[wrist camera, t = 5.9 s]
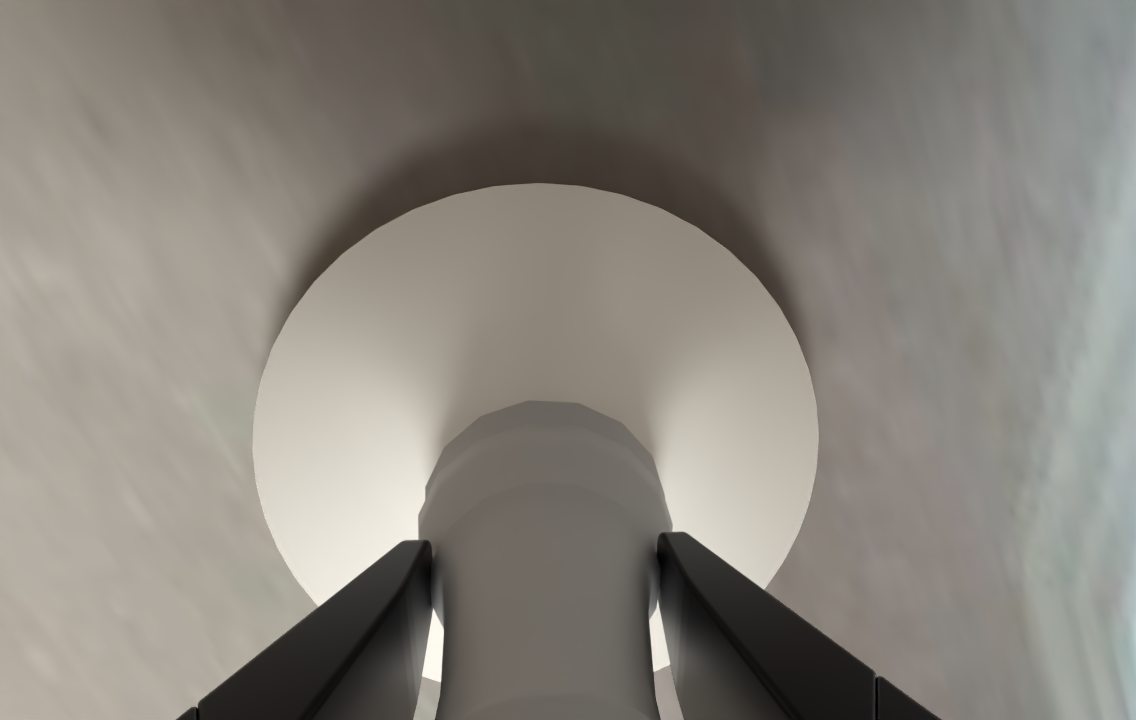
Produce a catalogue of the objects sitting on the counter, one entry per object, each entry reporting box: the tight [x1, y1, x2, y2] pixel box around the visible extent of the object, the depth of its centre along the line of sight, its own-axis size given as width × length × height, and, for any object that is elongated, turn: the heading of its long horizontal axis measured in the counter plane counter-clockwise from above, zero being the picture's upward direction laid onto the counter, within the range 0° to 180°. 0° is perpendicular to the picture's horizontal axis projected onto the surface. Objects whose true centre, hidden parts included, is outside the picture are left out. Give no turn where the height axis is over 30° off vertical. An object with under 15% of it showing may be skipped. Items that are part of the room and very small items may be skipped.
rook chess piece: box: [418, 400, 673, 720], centre depth 6 cm, size 4×4×8 cm
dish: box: [252, 183, 819, 682], centre depth 11 cm, size 11×11×1 cm
